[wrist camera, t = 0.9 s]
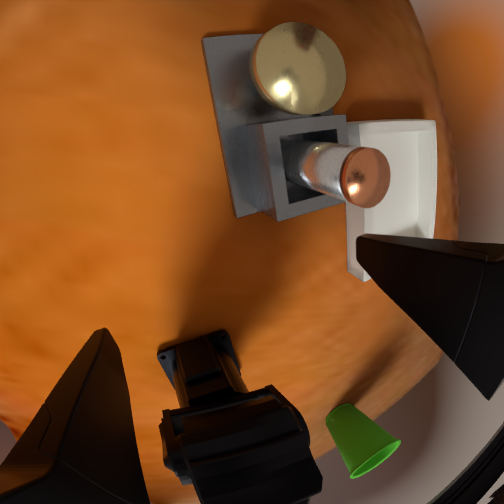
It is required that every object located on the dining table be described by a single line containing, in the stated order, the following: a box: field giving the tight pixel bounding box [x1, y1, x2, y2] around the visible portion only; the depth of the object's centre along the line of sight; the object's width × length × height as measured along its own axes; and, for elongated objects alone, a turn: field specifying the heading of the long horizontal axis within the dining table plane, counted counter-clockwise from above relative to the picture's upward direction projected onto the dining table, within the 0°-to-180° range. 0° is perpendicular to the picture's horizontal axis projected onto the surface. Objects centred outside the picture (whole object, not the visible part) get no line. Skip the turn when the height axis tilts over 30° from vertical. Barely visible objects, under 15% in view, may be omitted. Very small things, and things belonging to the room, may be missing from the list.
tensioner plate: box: [201, 22, 349, 222], centre depth 17 cm, size 13×9×5 cm
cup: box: [326, 403, 401, 479], centre depth 35 cm, size 9×9×11 cm
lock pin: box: [280, 139, 391, 208], centre depth 16 cm, size 3×3×9 cm
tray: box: [345, 119, 437, 282], centre depth 25 cm, size 14×11×2 cm
